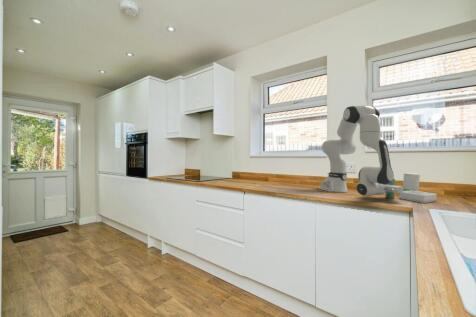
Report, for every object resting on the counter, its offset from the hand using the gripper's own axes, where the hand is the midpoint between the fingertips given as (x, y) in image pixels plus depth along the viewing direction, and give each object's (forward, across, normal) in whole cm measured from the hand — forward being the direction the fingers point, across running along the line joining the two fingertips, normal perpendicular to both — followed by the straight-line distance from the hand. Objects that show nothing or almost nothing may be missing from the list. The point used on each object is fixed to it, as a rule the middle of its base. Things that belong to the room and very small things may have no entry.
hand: (390, 186), depth 150 cm
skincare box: (+24, +1, +8) cm, 26 cm away
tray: (+11, -10, +8) cm, 17 cm away
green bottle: (-1, 0, +8) cm, 8 cm away
